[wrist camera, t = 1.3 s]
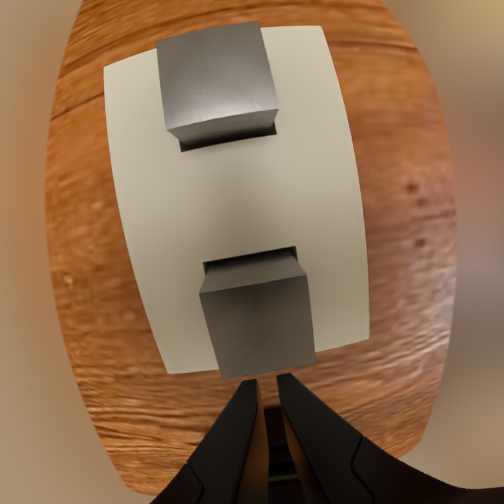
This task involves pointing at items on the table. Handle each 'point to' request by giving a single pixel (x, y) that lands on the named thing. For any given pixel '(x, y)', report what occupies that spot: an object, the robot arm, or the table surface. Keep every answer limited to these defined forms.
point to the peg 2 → (258, 313)
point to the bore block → (241, 198)
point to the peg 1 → (216, 85)
